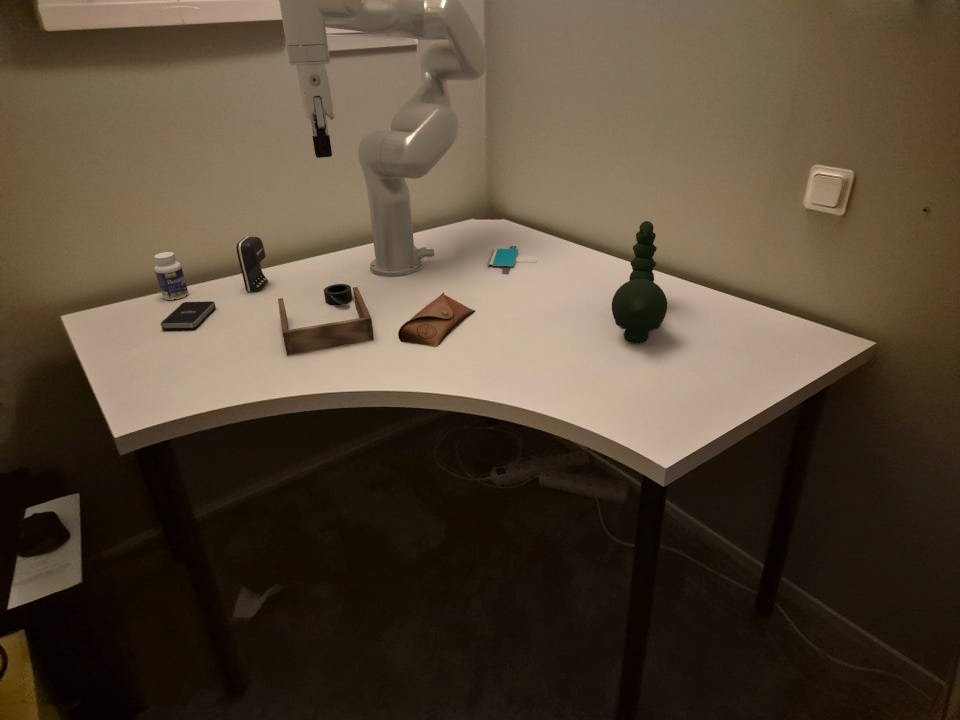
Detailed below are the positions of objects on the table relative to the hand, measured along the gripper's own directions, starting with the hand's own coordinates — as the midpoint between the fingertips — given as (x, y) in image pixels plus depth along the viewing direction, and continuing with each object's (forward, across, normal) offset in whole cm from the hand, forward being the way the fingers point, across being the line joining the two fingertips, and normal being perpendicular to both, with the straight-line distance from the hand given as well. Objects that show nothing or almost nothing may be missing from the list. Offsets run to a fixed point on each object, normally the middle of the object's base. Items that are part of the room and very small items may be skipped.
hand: (323, 156), depth 127 cm
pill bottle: (+29, +12, +36) cm, 48 cm away
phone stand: (+30, +4, -42) cm, 52 cm away
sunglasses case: (+30, -26, -15) cm, 42 cm away
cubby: (+29, -18, +6) cm, 35 cm away
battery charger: (+29, +10, +18) cm, 36 cm away
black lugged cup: (+30, -5, +2) cm, 30 cm away
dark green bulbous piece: (+29, -41, -50) cm, 71 cm away
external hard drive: (+30, -3, +32) cm, 44 cm away
